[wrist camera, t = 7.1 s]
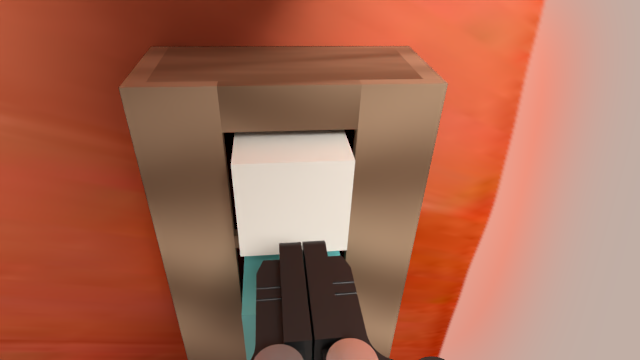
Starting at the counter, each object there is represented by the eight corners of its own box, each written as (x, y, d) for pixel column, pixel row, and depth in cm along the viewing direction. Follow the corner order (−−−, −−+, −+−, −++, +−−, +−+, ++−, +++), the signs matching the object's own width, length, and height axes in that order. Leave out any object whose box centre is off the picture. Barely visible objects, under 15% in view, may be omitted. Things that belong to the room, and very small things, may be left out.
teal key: (244, 246, 20) (241, 315, 16) (337, 241, 20) (351, 306, 17) (250, 307, 22) (248, 378, 19) (332, 301, 23) (344, 369, 19)
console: (150, 46, 18) (118, 87, 14) (409, 46, 20) (447, 83, 16) (207, 335, 30) (199, 403, 26) (367, 322, 31) (383, 385, 27)
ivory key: (236, 116, 18) (230, 164, 14) (338, 114, 18) (355, 160, 15) (244, 199, 20) (240, 256, 17) (333, 195, 21) (346, 250, 17)
